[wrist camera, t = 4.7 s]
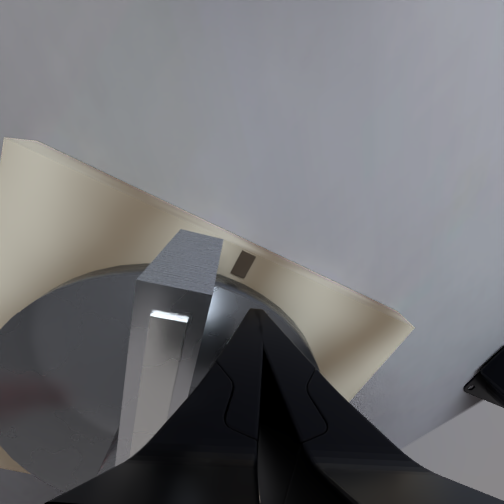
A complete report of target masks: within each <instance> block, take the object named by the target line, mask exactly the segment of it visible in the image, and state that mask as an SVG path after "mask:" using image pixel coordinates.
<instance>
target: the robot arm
mask: <svg viewBox="0 0 504 504" xmlns="http://www.w3.org/2000/svg"><path fill="white" fill-rule="evenodd" d="M471 385H474V387H473V388H472V389H468V387H469V386H471ZM463 389H464V391H465V392H467V393H469V394H471V395H474V396H476V397H479V398H481V399H484V400H486V401H488V402H491V403H493V404H496V405H498V406H501V407H503V408H504V348H503V349H502V350H501V351H499V352H498V353H497V354H496V355H495V356H494V357H493V358H492V359H491V360H490V361H489V362H488V363H487V364H486V365H484V366H483V367H482V368H481V370H480V372H479V373H478V374H476V375H475V376H474V377H473V378H472V379H471V380H470V381H469V382H468V383H467V384H466V385H465V386H464V388H463ZM259 495H260V498H259ZM45 504H504V501H503V500H500V499H498V498H495V497H493V496H490V495H488V494H485V493H483V492H480V491H478V490H475V489H473V488H470V487H468V486H465V485H462V484H460V483H457V482H455V481H452V480H450V479H448V478H445V477H442V476H440V475H438V474H435V473H433V472H431V471H430V470H428V469H426V468H424V467H422V466H420V465H419V464H418V463H416V462H415V461H413V460H412V459H411V458H409V457H408V456H407V455H406V454H404V453H403V452H402V451H401V450H400V449H399V448H397V447H396V446H395V445H394V444H393V443H392V442H391V441H390V440H389V439H388V438H387V437H386V436H385V435H383V434H382V433H381V432H380V431H379V430H378V429H377V428H376V427H375V426H374V425H373V424H372V423H371V422H369V421H368V420H367V419H366V418H365V417H364V416H363V415H362V414H361V413H360V412H359V411H358V410H357V409H355V408H354V407H353V406H352V405H351V404H350V403H349V402H348V401H347V400H346V399H345V398H344V397H343V396H342V395H341V394H340V393H339V392H338V391H337V390H336V389H335V388H334V387H333V386H332V385H331V384H330V383H329V382H328V381H327V380H326V378H325V377H324V376H323V375H322V374H321V373H320V372H319V371H318V370H317V369H316V368H315V366H314V365H313V364H312V363H311V362H310V361H309V360H308V359H307V358H306V357H305V355H304V354H303V353H302V352H301V351H300V350H299V349H298V348H297V347H296V345H295V344H294V343H293V342H292V341H291V340H290V339H289V338H288V337H287V335H286V334H285V333H284V332H283V331H282V330H281V329H280V328H279V327H278V325H277V324H276V323H275V322H274V321H273V320H272V319H271V318H270V317H269V316H268V314H267V313H266V312H265V311H264V310H263V309H254V308H250V309H249V310H248V312H247V313H246V315H245V316H244V318H243V319H242V321H241V322H240V324H239V325H238V327H237V329H236V330H235V332H234V333H233V335H232V336H231V338H230V339H229V341H228V342H227V344H226V345H225V347H224V348H223V350H222V351H221V353H220V354H219V356H218V357H217V359H216V360H215V362H214V363H213V365H212V366H211V368H210V369H209V371H208V372H207V373H206V375H205V376H204V378H203V379H202V380H201V382H200V383H199V384H198V386H197V387H196V388H195V389H194V390H193V392H192V393H191V394H190V395H189V396H188V398H187V399H186V400H185V401H184V402H183V403H182V404H181V405H180V407H179V408H178V409H177V410H176V411H175V412H174V413H173V415H172V416H171V417H170V418H169V419H168V420H167V421H166V422H165V424H164V425H163V426H162V427H161V428H160V429H159V430H158V431H157V433H156V434H155V435H154V436H153V437H152V438H151V439H150V440H149V441H148V442H147V444H145V445H144V446H143V447H142V448H141V449H140V450H139V451H138V452H137V453H135V454H134V455H133V456H132V457H130V458H129V459H128V460H126V461H125V462H123V463H121V464H119V465H117V466H115V467H113V468H111V469H110V470H108V471H106V472H104V473H102V474H100V475H98V476H96V477H94V478H92V479H90V480H88V481H87V482H85V483H83V484H81V485H79V486H77V487H75V488H73V489H71V490H69V491H67V492H65V493H64V494H62V495H60V496H58V497H56V498H54V499H52V500H50V501H48V502H46V503H45Z"/></svg>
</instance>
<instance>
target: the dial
mask: <svg viewBox="0 0 504 504" xmlns="http://www.w3.org/2000/svg"><path fill="white" fill-rule="evenodd" d="M222 244H223V239H221V238H216V237H212V236H208V235H204V234H200V233H195V232H191V231H187V230H183V229H180V230H179V232H178V233H177V234H176V235H175V236H174V237H173V238H172V239H171V241H170V242H169V243H168V244H167V245H166V246H165V247H164V249H163V250H162V251H161V252H160V253H159V254H158V255H157V257H156V258H155V259H154V260H153V261H152V262H151V263H143V264H130V265H119V266H115V267H110V268H105V269H100V270H95V271H92V272H90V273H87V274H84V275H81V276H78V277H75V278H73V279H71V280H69V281H67V282H65V283H63V284H61V285H59V286H57V287H55V288H53V289H52V290H50V291H49V292H47V293H46V294H44V295H43V296H41V297H40V298H38V299H37V300H35V301H34V302H32V303H31V304H29V305H28V306H27V307H25V308H24V309H23V310H21V311H20V312H18V313H17V314H16V315H14V316H13V317H12V318H11V319H10V320H9V321H8V322H7V323H6V324H5V325H4V326H3V327H2V328H1V329H0V446H1V447H2V448H3V449H4V450H5V451H6V452H7V454H8V455H9V456H10V457H11V458H12V459H13V460H14V461H16V462H17V463H18V464H19V465H20V466H22V467H23V468H24V469H25V470H26V471H28V472H29V473H31V474H32V475H34V476H35V477H37V478H38V479H40V480H41V481H43V482H45V483H47V484H49V485H51V486H52V487H54V488H56V489H58V490H61V491H63V492H67V491H69V490H71V489H73V488H75V487H77V486H79V485H81V484H83V483H85V482H87V481H88V480H90V479H92V478H94V477H96V476H98V475H100V474H102V473H104V472H106V471H108V470H110V469H111V468H113V467H115V466H117V465H119V464H121V463H123V462H125V461H126V460H128V459H129V458H130V457H132V456H133V455H134V454H135V453H137V452H138V451H139V450H140V449H141V448H142V447H143V446H144V445H145V444H147V442H148V441H149V440H150V439H151V438H152V437H153V436H154V435H155V434H156V433H157V431H158V430H159V429H160V428H161V427H162V426H163V425H164V424H165V422H166V421H167V420H168V419H169V418H170V417H171V416H172V415H173V413H174V412H175V411H176V410H177V409H178V408H179V407H180V405H181V404H182V403H183V402H184V401H185V400H186V399H187V398H188V396H189V395H190V394H191V393H192V392H193V390H194V389H195V388H196V387H197V386H198V384H199V383H200V382H201V380H202V379H203V378H204V376H205V375H206V373H207V372H208V371H209V369H210V368H211V366H212V365H213V363H214V362H215V360H216V359H217V357H218V356H219V354H220V353H221V351H222V350H223V348H224V347H225V345H226V344H227V342H228V341H229V339H230V338H231V336H232V335H233V333H234V332H235V330H236V329H237V327H238V325H239V324H240V322H241V321H242V319H243V318H244V316H245V315H246V313H247V312H248V310H249V309H250V308H254V309H263V310H264V311H265V312H266V313H267V314H268V316H269V317H270V318H271V319H272V320H273V321H274V322H275V323H276V324H277V325H278V327H279V328H280V329H281V330H282V331H283V332H284V333H285V334H286V335H287V337H288V338H289V339H290V340H291V341H292V342H293V343H294V344H295V345H296V347H297V348H298V349H299V350H300V351H301V352H302V353H303V354H304V355H305V357H306V358H307V359H308V360H309V361H310V362H311V363H312V364H313V365H314V366H315V368H316V369H317V370H318V371H319V368H318V365H317V363H316V360H315V357H314V355H313V352H312V350H311V348H310V346H309V344H308V342H307V340H306V338H305V336H304V335H303V333H302V332H301V331H300V329H299V328H298V327H297V325H296V324H295V323H294V321H293V320H292V319H291V318H290V317H289V316H288V315H287V314H286V313H285V312H284V311H283V310H282V309H281V308H280V307H278V306H277V305H276V304H274V303H273V302H272V301H270V300H269V299H268V298H266V297H265V296H264V295H262V294H260V293H259V292H257V291H255V290H253V289H252V288H250V287H248V286H246V285H245V284H242V283H240V282H238V281H235V280H233V279H230V278H228V277H225V276H223V275H220V274H217V270H218V265H219V260H220V255H221V250H222ZM319 372H320V371H319Z"/></svg>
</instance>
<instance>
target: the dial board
mask: <svg viewBox="0 0 504 504" xmlns="http://www.w3.org/2000/svg"><path fill="white" fill-rule="evenodd" d="M180 229H183V230H187V231H191V232H195V233H200V234H204V235H208V236H212V237H216V238H221V239H223V244H222V250H221V255H220V260H219V265H218V270H217V274H220V275H223V276H225V277H228V278H230V279H233V280H235V281H238V282H240V283H242V284H245V285H246V286H248V287H250V288H252V289H253V290H255V291H257V292H259V293H260V294H262V295H264V296H265V297H266V298H268V299H269V300H270V301H272V302H273V303H274V304H276V305H277V306H278V307H280V308H281V309H282V310H283V311H284V312H285V313H286V314H287V315H288V316H289V317H290V318H291V319H292V320H293V321H294V323H295V324H296V325H297V327H298V328H299V329H300V331H301V332H302V333H303V335H304V336H305V338H306V340H307V342H308V344H309V346H310V348H311V350H312V352H313V355H314V357H315V360H316V363H317V365H318V368H319V371H320V373H321V374H322V375H323V376H324V377H325V378H326V380H327V381H328V382H329V383H330V384H331V385H332V386H333V387H334V388H335V389H336V390H337V391H338V392H339V393H340V394H341V395H342V396H343V397H344V398H345V399H346V400H347V401H348V402H350V401H351V400H352V398H353V397H354V396H355V395H356V394H357V393H358V392H359V391H360V389H361V388H362V387H363V386H364V385H365V384H366V383H367V382H368V380H369V379H370V378H371V377H372V376H373V375H374V374H375V373H376V371H377V370H378V369H379V368H380V367H381V366H382V365H383V364H384V362H385V361H386V360H387V359H388V358H389V357H390V356H391V355H392V353H393V352H394V351H395V350H396V349H397V348H398V347H399V346H400V344H401V343H402V342H403V341H404V340H405V339H406V338H407V336H408V335H409V334H410V333H411V332H412V331H413V330H414V329H415V327H414V326H413V325H412V324H410V323H409V322H408V321H407V320H406V319H405V318H404V317H403V316H402V315H401V314H400V313H399V312H398V311H396V310H393V309H391V308H389V307H387V306H385V305H383V304H381V303H379V302H377V301H374V300H372V299H370V298H368V297H366V296H364V295H362V294H360V293H358V292H355V291H353V290H351V289H349V288H347V287H345V286H343V285H341V284H338V283H336V282H334V281H332V280H330V279H328V278H326V277H324V276H322V275H319V274H317V273H315V272H313V271H311V270H309V269H307V268H305V267H303V266H300V265H298V264H296V263H294V262H292V261H290V260H288V259H286V258H284V257H281V256H279V255H277V254H275V253H273V252H271V251H269V250H267V249H265V248H262V247H260V246H258V245H256V244H254V243H252V242H250V241H248V240H245V239H243V238H241V237H239V236H237V235H235V234H233V233H231V232H229V231H226V230H224V229H222V228H220V227H218V226H216V225H214V224H212V223H210V222H207V221H205V220H203V219H201V218H199V217H197V216H195V215H193V214H191V213H188V212H186V211H184V210H182V209H180V208H178V207H176V206H174V205H171V204H169V203H167V202H165V201H163V200H161V199H159V198H157V197H155V196H152V195H150V194H148V193H146V192H144V191H142V190H140V189H138V188H136V187H133V186H131V185H129V184H127V183H125V182H123V181H121V180H119V179H117V178H114V177H112V176H110V175H108V174H106V173H104V172H102V171H100V170H98V169H95V168H93V167H91V166H89V165H87V164H85V163H83V162H81V161H78V160H76V159H74V158H72V157H70V156H68V155H66V154H64V153H62V152H59V151H57V150H55V149H53V148H51V147H49V146H47V145H45V144H43V143H40V142H38V141H32V140H23V139H14V138H5V137H4V141H3V148H2V154H1V161H0V329H1V328H2V327H3V326H4V325H5V324H6V323H7V322H8V321H9V320H10V319H11V318H12V317H13V316H14V315H16V314H17V313H18V312H20V311H21V310H23V309H24V308H25V307H27V306H28V305H29V304H31V303H32V302H34V301H35V300H37V299H38V298H40V297H41V296H43V295H44V294H46V293H47V292H49V291H50V290H52V289H53V288H55V287H57V286H59V285H61V284H63V283H65V282H67V281H69V280H71V279H73V278H75V277H78V276H81V275H84V274H87V273H90V272H92V271H95V270H100V269H105V268H110V267H115V266H119V265H130V264H143V263H151V262H152V261H153V260H154V259H155V258H156V257H157V255H158V254H159V253H160V252H161V251H162V250H163V249H164V247H165V246H166V245H167V244H168V243H169V242H170V241H171V239H172V238H173V237H174V236H175V235H176V234H177V233H178V232H179V230H180ZM0 468H3V469H8V470H13V471H18V472H23V473H28V474H31V473H29V472H28V471H26V470H25V469H24V468H23V467H22V466H20V465H19V464H18V463H17V462H16V461H14V460H13V459H12V458H11V457H10V456H9V455H8V454H7V452H6V451H5V450H4V449H3V448H2V447H1V446H0ZM259 498H260V495H259Z"/></svg>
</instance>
